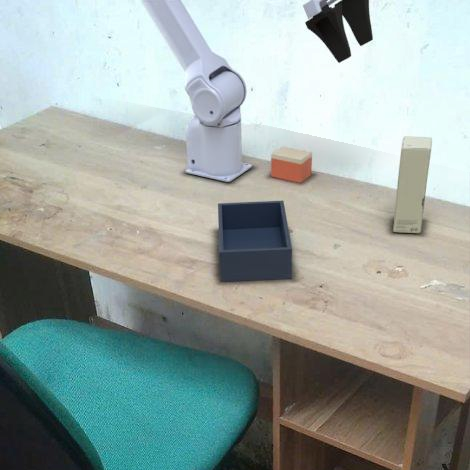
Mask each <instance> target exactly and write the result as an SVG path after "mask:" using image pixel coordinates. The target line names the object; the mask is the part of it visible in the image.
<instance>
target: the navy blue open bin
mask: <svg viewBox="0 0 470 470" xmlns="http://www.w3.org/2000/svg"><path fill="white" fill-rule="evenodd" d="M217 218H218V219H217V221H218V222H217V224H218V249H219V251H218V252H219V269H220V270H219V272H220V273H219V274H220V282H221V283H227V282H228V283H229V282H247V281H250V282H251V281H270V280H271V281H272V280H291V279H292V273H293V272H292V270H293V269H292V265H293V264H292V263H293V247H292V242H291V236H290V230H289V223H288V218H287V212H286V206H285V201H284V200H265V201H264V200H263V201H244V202H242V201H241V202H225V203H224V202H221V203H220V202H219V203H217Z"/></svg>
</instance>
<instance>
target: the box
mask: <svg viewBox="0 0 470 470" xmlns="http://www.w3.org/2000/svg"><path fill="white" fill-rule="evenodd" d="M432 147H433V138H432V137H431V136H412V135H411V136H410V135H408V136H407V135H406V136H402V142H401V149H400V157H399V167H398V174H397V177H398V178H397V186H396V194H395V205H394V217H393V226H392V227H393V228H392V232H393V233H400V234H401V233H402V234H403V233H404V234H406V233H407V234H421V232H422V231H421V230H422V225H423V218H424V216H423V215H424V209H425V202H426V193H427V186H428V185H427V184H428V177H429V169H430V161H431V154H432Z"/></svg>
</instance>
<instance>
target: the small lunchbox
mask: <svg viewBox="0 0 470 470" xmlns="http://www.w3.org/2000/svg"><path fill="white" fill-rule="evenodd" d="M312 166H313V152H312V151H309V150H304V149H300V148H299V149H298V148H295V147H294V148H293V147H289V146H283V145H282V146H281V147H279V148H278V149H276V150H275V151H273V152H272V153H270V177H271V178H276V179H280V180H285V181H288V182H289V181H290V182H294V183H299V184H302V182H304V181H306V180H307V179H308V178H309V177H311V176H312V172H313V171H312V168H313V167H312Z"/></svg>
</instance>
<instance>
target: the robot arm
mask: <svg viewBox="0 0 470 470" xmlns="http://www.w3.org/2000/svg"><path fill="white" fill-rule="evenodd" d="M139 1H140V2H141V4H142V5H143V7H144V9H145V10H146V13H148V15H149V17H150V19H151V20H152V22H153V23H154V25H155V26H156V28H157V29H158V32H159V33H160V34H161V36H162V37H163V39H164V41H165V42H166V44H167V45H168V47H169V49H170V50H171V52H172V54H174V56H175V58H176V60H177V62H178V64H180V66H181V68H182V69H183V71H184V73H185V76H184V78H185V79H184V90H185V92H186V94H187V95H188V97H189V101H190V105H191V109H192V112H193V114H194V115H193V116H192V117H191V118H190V119H189V121H188V123H187V125H186V131H185V143H186V158H187V159H186V160H187V169H185V173H186V174H190V175H194V176H199V177H204V178H208V179H212V180H216V181H220V182H225V183H231V182H232V181H233V180H235V179H236V178H238V177H239V176H241V175H243V174H244V173H246V172H247V171H248V170H250V169H251V168H252V167H253V166H252V164H251V163H249V162H248V163H247V162H243V145H242V144H243V143H242V142H243V141H242V140H243V139H242V114H241V106H243V104H244V102H245V101H246V97H247V85H246V82H245V80H244V78H243V76H242V75H241V74H240V73H239V72H237V71H236V70H235V69H234V68H232V67H231V66H230V65H229V63H228V61H227V60H226V59H225V58H224V57H223V56H220V55H218V54H216V53H215V52H213V51H212V49H211V47H210V46H209V44H208V42H207V40H206V39H205V38H204V36H203V34H202V33H201V31H200V30H199V27H198V26H197V24H196V23H195V21H194V19H193V18H192V16H191V14H190V12H189V11H188V10H187V8H186V6H185V5H184V3H183V1H182V0H139ZM337 1H338V0H308V1H306V3H304V4H302V8H303V9H304V12H305V15H306V17H307V19H308V20H307V21H305V22H304V23H305V26H306V29H307V30H309V31H310V32H312V33H313V34H314V35H315V36H317V37H318V39H320V41H321V42H322V43H323V44H324V45H325V46H326V49H328V50H329V52H330V53H331V55H332V56H333V57H334V59H335V60H336V61H337V63H338V64H340V63H342V62H343V61H346V60H347V59H350V58H351V57H352V51H351V46H350V43H349V41H348V36H347V34H346V30H345V25H344V19H345V21H346V23H347V24H348V26H349V29H350V30H351V33H352V34H353V36H354V39H355V41H356V42H357V43H358V46H360V47H363V46H364V45H366V44H368V43H370V42H371V41H373V40H374V38H373V37H374V36H373V29H372V23H371V14H370V0H340V1H338V2H337ZM336 2H337V3H336ZM334 3H335V4H334ZM332 4H334V6H333V7H332ZM343 18H344V19H343Z"/></svg>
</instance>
